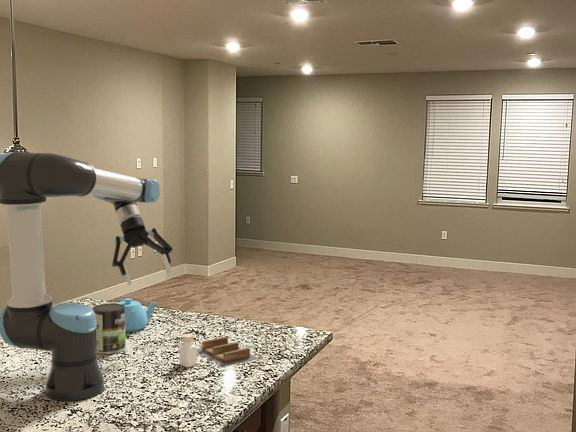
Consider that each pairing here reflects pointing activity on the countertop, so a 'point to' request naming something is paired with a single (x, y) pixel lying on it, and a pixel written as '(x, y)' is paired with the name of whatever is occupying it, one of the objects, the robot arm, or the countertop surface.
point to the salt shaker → (188, 351)
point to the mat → (223, 362)
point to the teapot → (136, 314)
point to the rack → (225, 350)
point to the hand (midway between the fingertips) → (150, 278)
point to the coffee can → (110, 328)
